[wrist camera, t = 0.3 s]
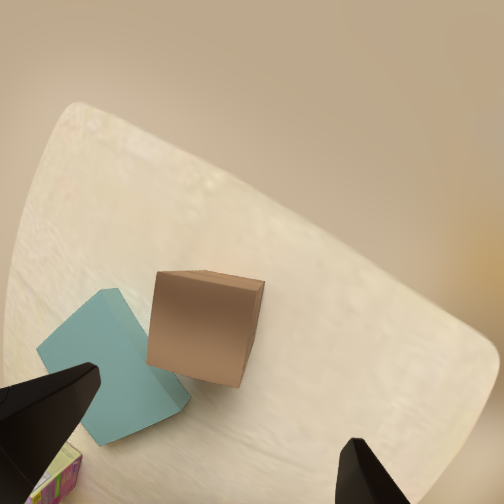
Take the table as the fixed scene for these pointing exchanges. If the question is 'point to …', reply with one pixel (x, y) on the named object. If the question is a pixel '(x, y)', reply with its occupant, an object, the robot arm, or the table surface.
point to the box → (57, 477)
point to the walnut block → (203, 324)
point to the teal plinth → (114, 368)
